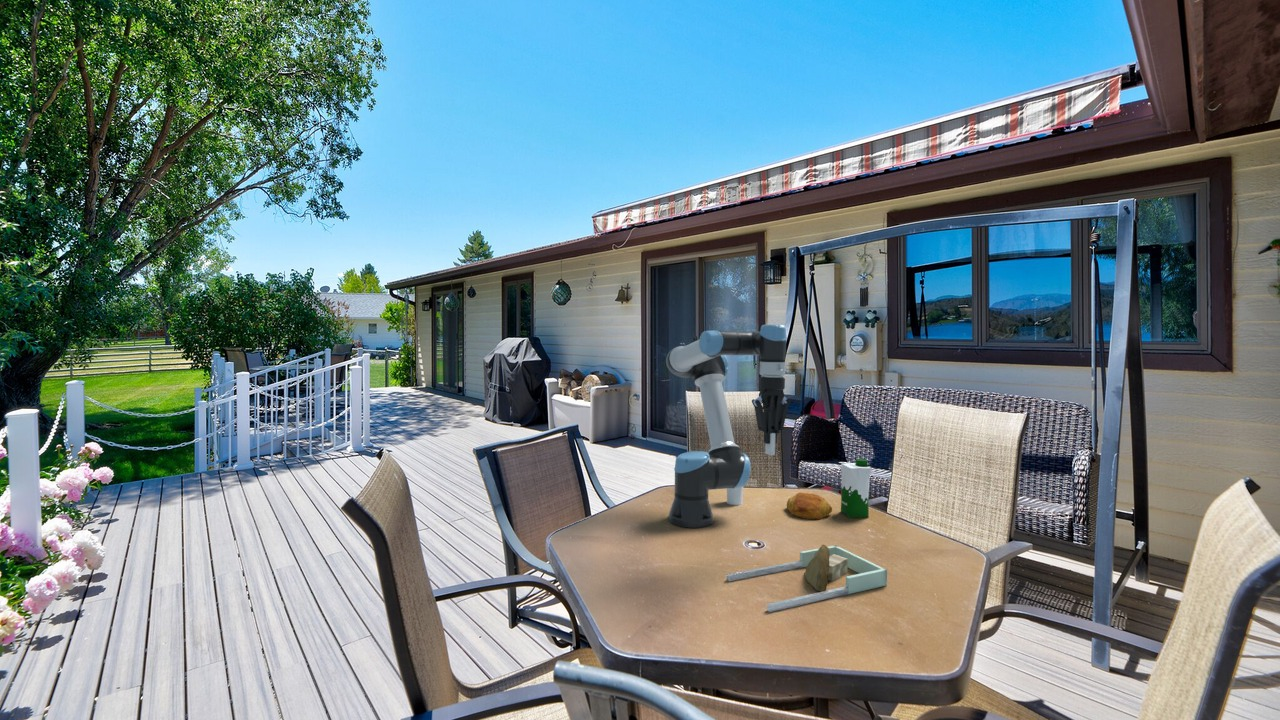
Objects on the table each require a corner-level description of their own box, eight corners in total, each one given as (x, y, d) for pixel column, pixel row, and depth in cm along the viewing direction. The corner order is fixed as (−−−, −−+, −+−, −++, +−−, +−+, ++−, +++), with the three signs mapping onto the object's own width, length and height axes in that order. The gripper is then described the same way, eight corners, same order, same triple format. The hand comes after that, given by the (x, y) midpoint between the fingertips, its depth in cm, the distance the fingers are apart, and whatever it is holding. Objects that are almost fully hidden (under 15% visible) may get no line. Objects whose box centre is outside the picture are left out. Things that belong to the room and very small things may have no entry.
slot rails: (769, 612, 125) (769, 605, 125) (726, 580, 142) (726, 574, 142) (848, 594, 135) (848, 588, 135) (799, 565, 152) (799, 560, 152)
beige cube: (839, 577, 145) (840, 562, 145) (825, 572, 148) (826, 557, 148) (847, 573, 148) (847, 558, 148) (833, 568, 151) (834, 554, 151)
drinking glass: (746, 503, 209) (747, 477, 209) (737, 506, 204) (737, 480, 204) (732, 499, 214) (732, 474, 214) (722, 502, 209) (722, 477, 209)
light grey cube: (832, 581, 142) (832, 566, 142) (818, 576, 145) (818, 561, 145) (840, 577, 145) (840, 562, 145) (826, 572, 148) (826, 557, 148)
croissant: (794, 510, 209) (792, 489, 209) (836, 513, 199) (834, 491, 200) (779, 519, 197) (777, 496, 197) (823, 522, 187) (820, 498, 188)
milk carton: (872, 518, 194) (874, 462, 193) (847, 518, 193) (849, 462, 192) (860, 510, 203) (862, 457, 202) (836, 510, 202) (838, 457, 201)
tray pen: (848, 594, 135) (848, 578, 135) (799, 565, 152) (800, 551, 151) (886, 585, 140) (887, 570, 140) (835, 559, 157) (835, 545, 157)
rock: (836, 588, 133) (845, 569, 141) (815, 558, 135) (825, 542, 143) (802, 602, 139) (813, 583, 147) (783, 573, 141) (795, 557, 148)
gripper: (761, 377, 157) (759, 458, 158) (797, 376, 162) (795, 455, 163) (746, 375, 164) (744, 453, 165) (781, 375, 169) (779, 450, 170)
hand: (770, 454), depth 164 cm, fingers closed
